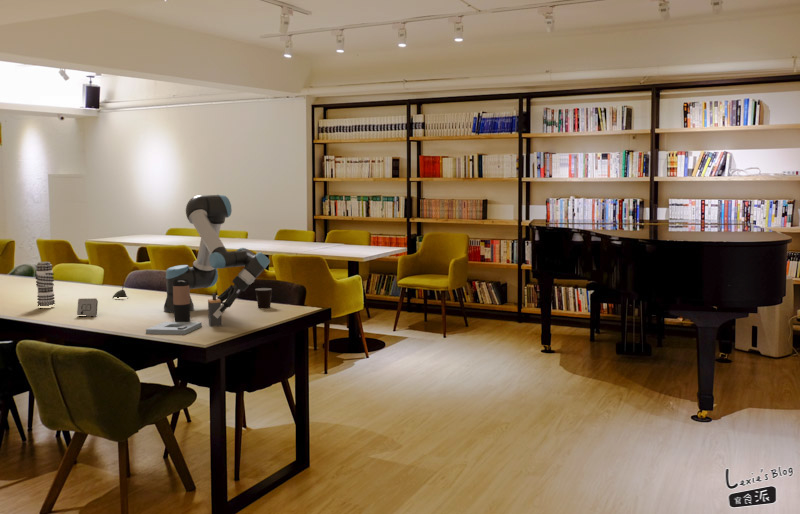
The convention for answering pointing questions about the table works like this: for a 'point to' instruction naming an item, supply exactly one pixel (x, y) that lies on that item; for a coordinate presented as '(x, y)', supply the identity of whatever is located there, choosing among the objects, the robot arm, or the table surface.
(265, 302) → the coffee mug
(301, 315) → the table surface
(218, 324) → the plug
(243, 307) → the table surface
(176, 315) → the travel mug
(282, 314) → the table surface
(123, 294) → the sword in stone
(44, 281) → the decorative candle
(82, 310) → the electrical switch
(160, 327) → the socket plate
